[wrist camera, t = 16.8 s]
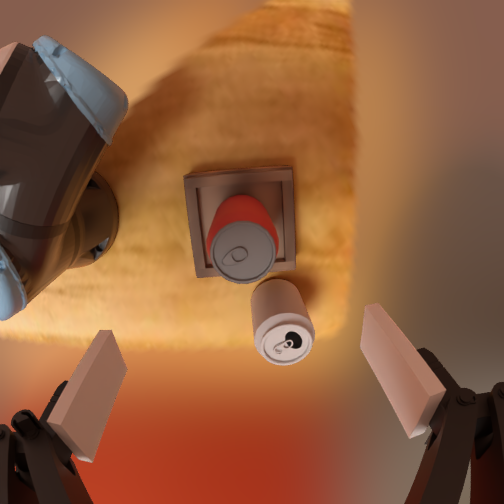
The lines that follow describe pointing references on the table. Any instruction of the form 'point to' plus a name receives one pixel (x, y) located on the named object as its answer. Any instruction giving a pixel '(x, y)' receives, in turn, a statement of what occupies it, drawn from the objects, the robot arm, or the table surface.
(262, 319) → the can
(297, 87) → the table surface
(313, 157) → the table surface
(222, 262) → the beer can
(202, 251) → the walnut tray
